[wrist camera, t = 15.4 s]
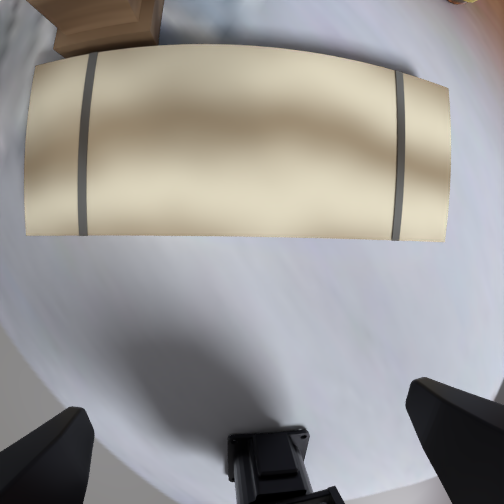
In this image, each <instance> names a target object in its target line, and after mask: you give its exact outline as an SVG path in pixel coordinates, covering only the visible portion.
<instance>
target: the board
mask: <svg viewBox="0 0 504 504" xmlns="http://www.w3.org/2000/svg"><path fill="white" fill-rule="evenodd" d="M450 172H451V124H450V103H449V90H448V88H446V87H443V86H441V85H438V84H435V83H432V82H429V81H427V80H424V79H421V78H418V77H414V76H411V75H408V74H405V73H403V72H400V71H397V70H391V69H387V68H384V67H380V66H376V65H372V64H368V63H364V62H359V61H355V60H350V59H346V58H341V57H335V56H330V55H325V54H319V53H312V52H306V51H299V50H291V49H283V48H273V47H262V46H249V45H228V44H180V45H160V46H147V47H136V48H127V49H118V50H111V51H104V52H93V53H89V54H86V55H81V56H76V57H71V58H66V59H61V60H57V61H53V62H49V63H45V64H41V65H37V66H35V71H34V77H33V82H32V89H31V95H30V102H29V110H28V119H27V129H26V142H25V162H24V206H25V226H26V236H61V235H79V236H88V235H154V236H244V237H296V238H336V239H371V240H392V241H399V240H401V241H428V242H445V236H446V227H447V217H448V206H449V192H450Z"/></svg>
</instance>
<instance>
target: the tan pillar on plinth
mask: <svg viewBox="0 0 504 504" xmlns="http://www.w3.org/2000/svg"><path fill="white" fill-rule="evenodd" d="M26 1H27V2H29V3H30V4H31V5H32V6H33V7H34V8H35V9H37V10H38V11H39V12H40V13H41V14H42V15H43V16H45V17H46V18H47V19H48V20H49V21H50V22H51V23H52V24H54V25H55V26H56V27H57V28H58V29H57V33H56V38H55V42H54V47H53V49H54V50H55V51H56V52H58V53H59V54H60V55H62V56H63V57H64V58H71V57H76V56H81V55H86V54H89V53H93V52H104V51H111V50H118V49H127V48H136V47H147V46H158V43H159V34H160V26H161V19H162V11H163V5H164V0H26Z"/></svg>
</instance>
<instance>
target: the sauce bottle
mask: <svg viewBox="0 0 504 504" xmlns="http://www.w3.org/2000/svg"><path fill="white" fill-rule="evenodd" d="M448 1H449V2H451V3H453V4H466V3H468V2H474V1H477V0H448Z"/></svg>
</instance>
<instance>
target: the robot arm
mask: <svg viewBox="0 0 504 504" xmlns="http://www.w3.org/2000/svg"><path fill="white" fill-rule="evenodd" d="M406 410H407V412H408V414H409V417H410V419H411V421H412V424H413V426H414V429H415V431H416V433H417V436H418V438H419V441H420V443H421V445H422V447H423V449H424V451H425V453H426V455H427V457H428V459H429V461H430V462H431V464H432V466H433V468H434V470H435V472H436V473H437V475H438V477H439V479H440V481H441V483H442V485H443V486H444V488H445V490H446V492H447V494H448V496H449V498H450V500H451V502H452V504H504V405H502V404H500V403H497V402H494V401H491V400H488V399H485V398H482V397H479V396H476V395H473V394H470V393H468V392H465V391H462V390H459V389H456V388H454V387H451V386H448V385H446V384H443V383H440V382H437V381H435V380H432V379H430V378H427V377H422V378H418V379H415V380H413V381H412V382H411V384H410V388H409V392H408V395H407V399H406ZM302 435H304V436H302ZM309 437H310V435H309V432H308V431H307V430H297V431H287V432H275V433H260V434H234V435H230V436H229V437H228V477H229V481H230V482H235V488H236V499H237V504H345V503H344V501H343V499H342V498H341V496H340V494H339V492H338V490H337V488H336V487H335V486H332V487H329V488H328V489H325V490H322V491H318V492H314V493H313V490H312V487H311V484H310V481H309V478H308V474H307V471H306V468H305V465H304V459H305V454H306V450H307V446H308V441H309ZM233 440H235V441H233ZM93 443H94V429H93V427H92V424H91V422H90V420H89V417H88V415H87V413H86V411H85V409H84V408H81V407H73V406H72V407H68V408H67V409H65V410H64V411H62V412H61V413H59V414H58V415H56V416H55V417H53V418H52V419H50V420H49V421H47V422H46V423H44V424H43V425H41V426H40V427H38V428H37V429H35V430H34V431H32V432H31V433H29V434H28V435H26V436H25V437H23V438H21V439H20V440H18V441H17V442H15V443H14V444H12V445H11V446H9V447H7V448H6V449H4V450H3V451H1V452H0V504H83V501H84V497H85V492H86V488H87V484H88V478H89V472H90V464H91V456H92V448H93Z"/></svg>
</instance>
